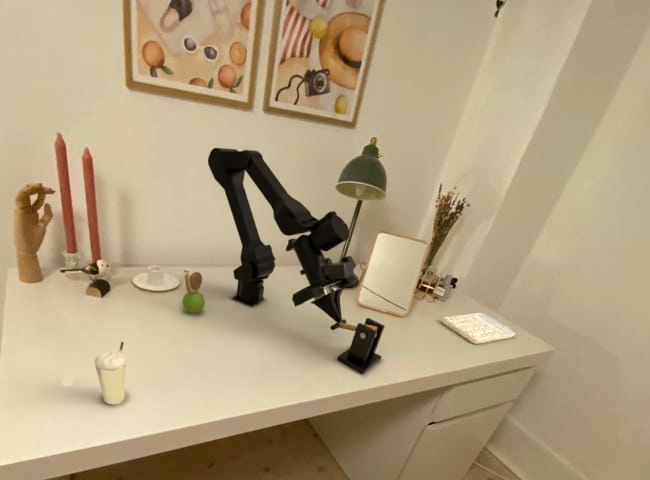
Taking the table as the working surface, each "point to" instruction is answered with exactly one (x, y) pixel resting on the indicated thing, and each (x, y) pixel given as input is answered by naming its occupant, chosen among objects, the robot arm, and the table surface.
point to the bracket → (363, 347)
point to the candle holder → (156, 279)
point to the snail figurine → (193, 293)
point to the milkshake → (112, 375)
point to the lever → (349, 326)
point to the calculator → (478, 328)
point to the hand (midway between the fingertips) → (339, 321)
